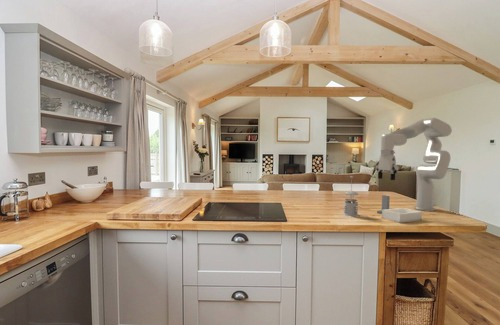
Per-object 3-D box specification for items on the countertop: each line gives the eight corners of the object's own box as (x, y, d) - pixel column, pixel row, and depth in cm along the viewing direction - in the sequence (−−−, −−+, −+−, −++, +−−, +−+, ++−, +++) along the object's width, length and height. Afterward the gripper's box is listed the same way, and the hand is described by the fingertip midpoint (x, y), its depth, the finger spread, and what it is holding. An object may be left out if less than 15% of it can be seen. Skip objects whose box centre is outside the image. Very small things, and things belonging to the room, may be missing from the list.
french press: (341, 215, 164) (342, 175, 163) (344, 211, 174) (345, 174, 173) (358, 217, 160) (359, 176, 159) (360, 213, 170) (361, 175, 169)
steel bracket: (388, 211, 176) (388, 194, 176) (393, 213, 172) (394, 195, 172) (377, 213, 172) (377, 195, 172) (382, 214, 169) (382, 196, 168)
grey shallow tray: (403, 215, 166) (403, 207, 166) (421, 220, 155) (421, 211, 154) (381, 217, 159) (382, 209, 159) (399, 222, 148) (399, 214, 148)
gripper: (403, 153, 164) (402, 180, 165) (380, 153, 180) (379, 177, 181) (394, 153, 161) (393, 180, 162) (372, 153, 177) (371, 178, 178)
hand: (386, 179), depth 171 cm, fingers open, 9 cm apart
